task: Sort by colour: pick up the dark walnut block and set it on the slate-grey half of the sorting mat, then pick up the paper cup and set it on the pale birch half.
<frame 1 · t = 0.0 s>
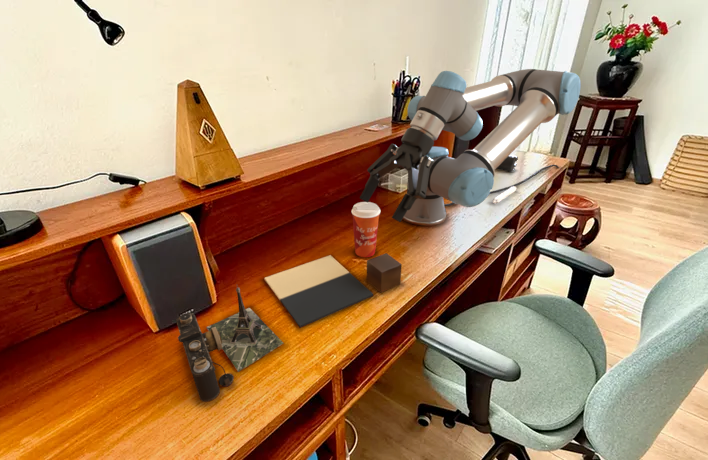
hand: (378, 209, 91), 15 cm above the table, tool tilted 35°, fingers open, 13 cm apart
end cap: (502, 170, 163), on the table
sorting mat: (317, 287, 88), on the table
camera: (208, 365, 68), on the table
eiffel tower figurine: (244, 337, 74), on the table
walnut block: (383, 282, 90), on the table
marker: (503, 198, 136), on the table
paper cup: (365, 252, 102), on the table
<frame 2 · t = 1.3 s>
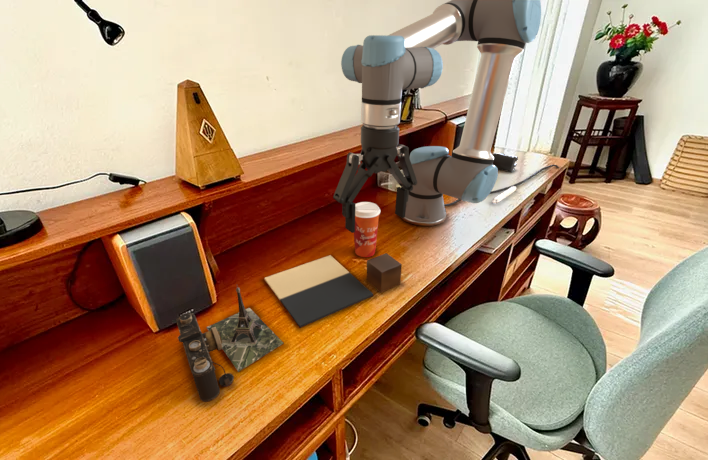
hand: (376, 222, 80), 17 cm above the table, tool pointing down, fingers open, 13 cm apart
nothing on the table moved.
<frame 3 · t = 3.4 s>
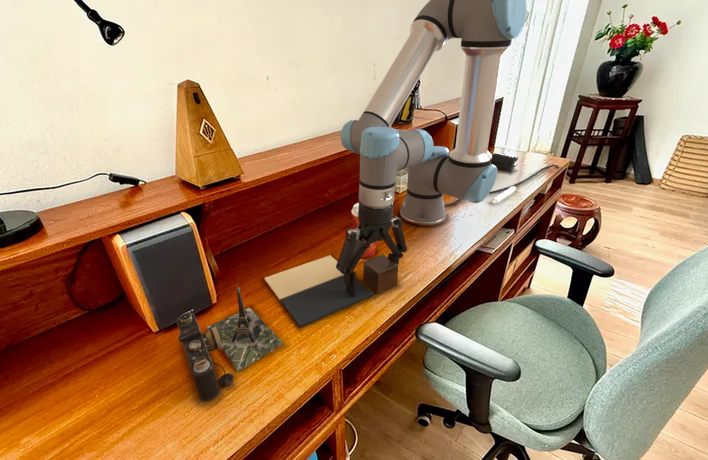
hand: (371, 285, 88), 1 cm above the table, tool pointing down, fingers open, 11 cm apart
walnut block: (380, 283, 89), on the table
everything else where it was.
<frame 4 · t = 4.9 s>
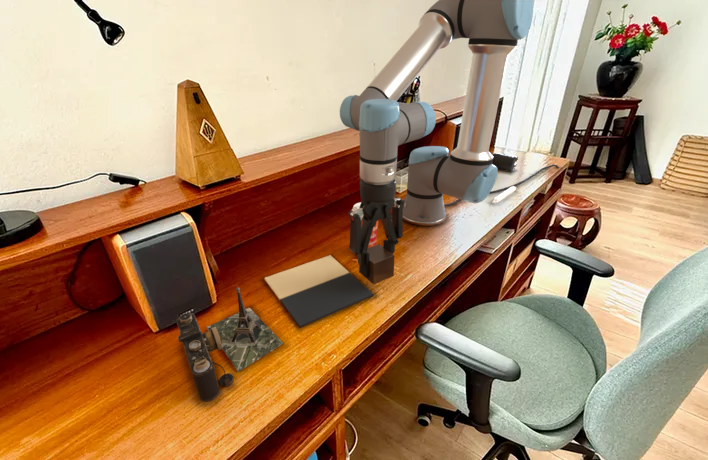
hand: (376, 269, 87), 5 cm above the table, tool pointing down, fingers closed on walnut block, 6 cm apart
walnut block: (376, 274, 87), point 3 cm above the table, touching gripper
everything else where it was.
when the fingers open (1 cm above the table, at t = 10.0 s): walnut block stays where it is, resting on sorting mat.
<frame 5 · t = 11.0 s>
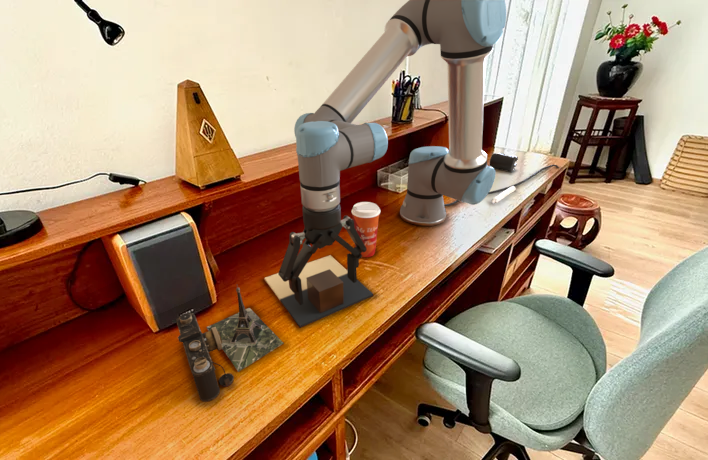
hand: (326, 290, 81), 4 cm above the table, tool pointing down, fingers open, 13 cm apart
walnut block: (325, 301, 83), point 1 cm above the table, touching sorting mat
everything else where it was.
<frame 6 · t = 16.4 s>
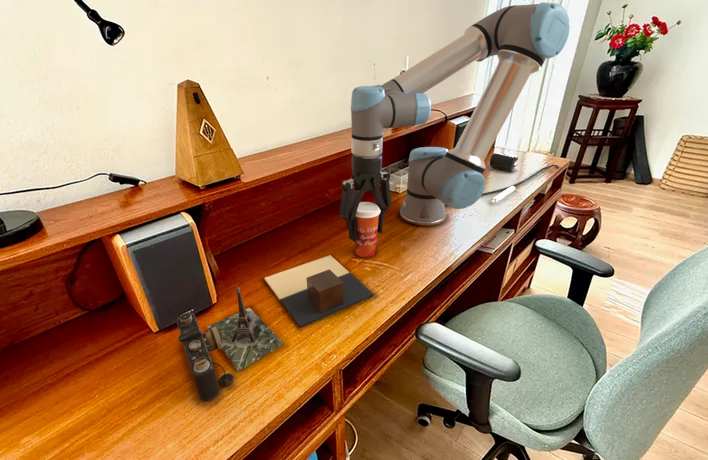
hand: (365, 235, 100), 5 cm above the table, tool pointing down, fingers closed on paper cup, 8 cm apart
paper cup: (365, 252, 102), on the table, touching gripper
everything else where it was.
when the fingers open (6 cm above the table, at t = 23.3 s): paper cup stays where it is, resting on sorting mat.
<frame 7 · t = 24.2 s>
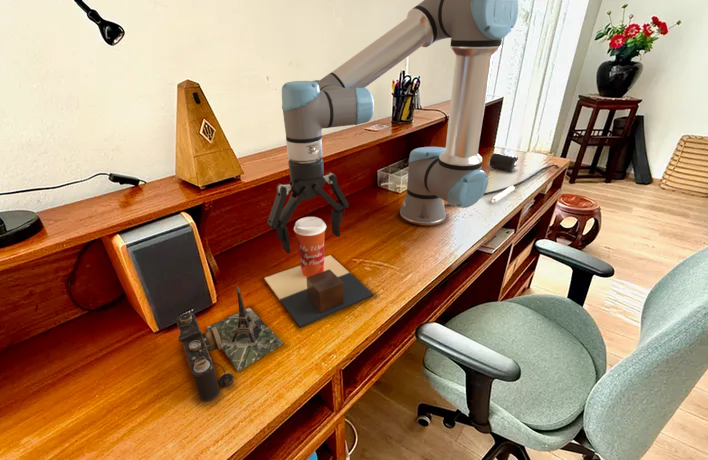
hand: (312, 242, 89), 9 cm above the table, tool pointing down, fingers open, 13 cm apart
paper cup: (313, 271, 93), resting on sorting mat
everything else where it was.
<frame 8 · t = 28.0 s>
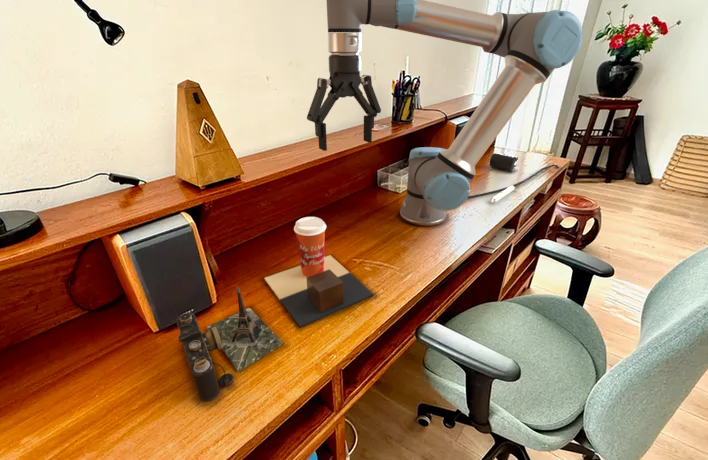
hand: (346, 145, 94), 29 cm above the table, tool pointing down, fingers open, 13 cm apart
nothing on the table moved.
at the end: walnut block inside the target area (1.3 cm from its centre), point 0.6 cm above the table; paper cup inside the target area (2.3 cm from its centre), resting on sorting mat; paper cup tilted 0° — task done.
